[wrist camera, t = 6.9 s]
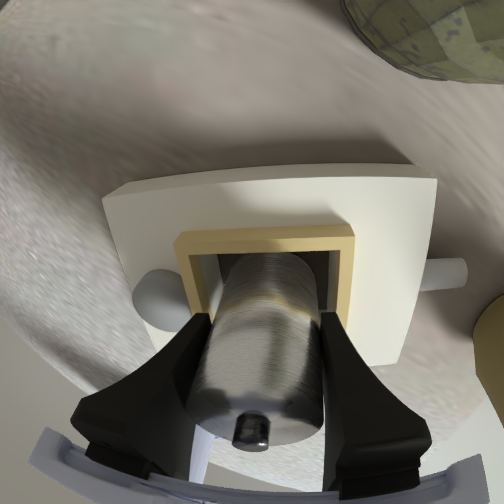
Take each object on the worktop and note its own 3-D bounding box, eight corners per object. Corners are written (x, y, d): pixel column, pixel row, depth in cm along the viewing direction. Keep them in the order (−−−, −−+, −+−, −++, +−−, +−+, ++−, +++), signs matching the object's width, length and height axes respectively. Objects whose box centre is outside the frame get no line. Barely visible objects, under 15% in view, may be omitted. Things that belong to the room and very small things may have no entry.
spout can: (236, 321, 17) (201, 460, 9) (219, 252, 15) (155, 404, 7) (316, 318, 16) (320, 466, 9) (314, 245, 14) (328, 413, 6)
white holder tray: (174, 335, 21) (156, 374, 18) (127, 182, 15) (88, 207, 12) (430, 329, 18) (446, 369, 15) (466, 168, 12) (506, 191, 9)
